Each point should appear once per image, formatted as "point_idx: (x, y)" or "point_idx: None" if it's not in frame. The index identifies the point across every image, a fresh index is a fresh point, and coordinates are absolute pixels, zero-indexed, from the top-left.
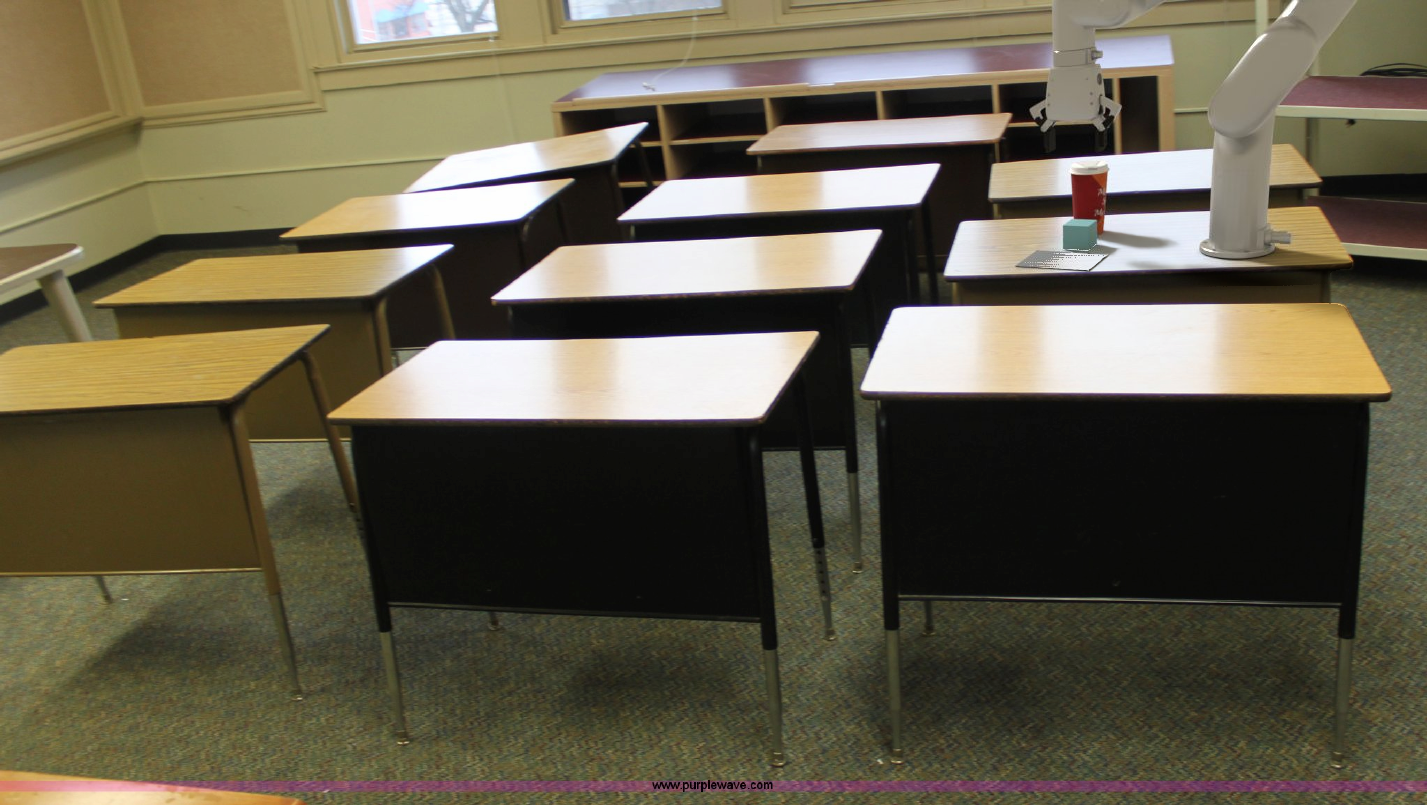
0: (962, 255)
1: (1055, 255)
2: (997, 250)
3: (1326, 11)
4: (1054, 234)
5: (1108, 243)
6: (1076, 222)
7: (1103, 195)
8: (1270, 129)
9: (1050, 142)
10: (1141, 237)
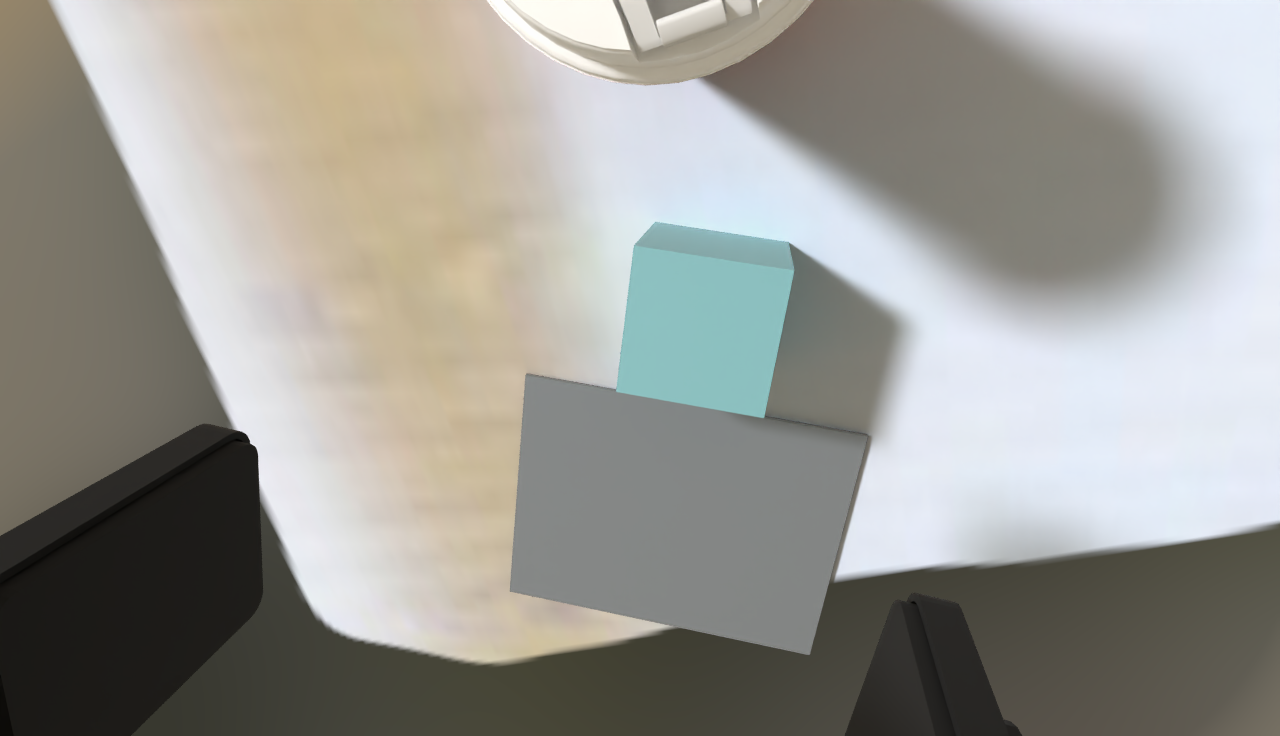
0: None
1: (630, 456)
2: (351, 358)
3: None
4: None
5: (847, 221)
6: (678, 328)
7: None
8: None
9: (173, 656)
10: (1031, 79)
